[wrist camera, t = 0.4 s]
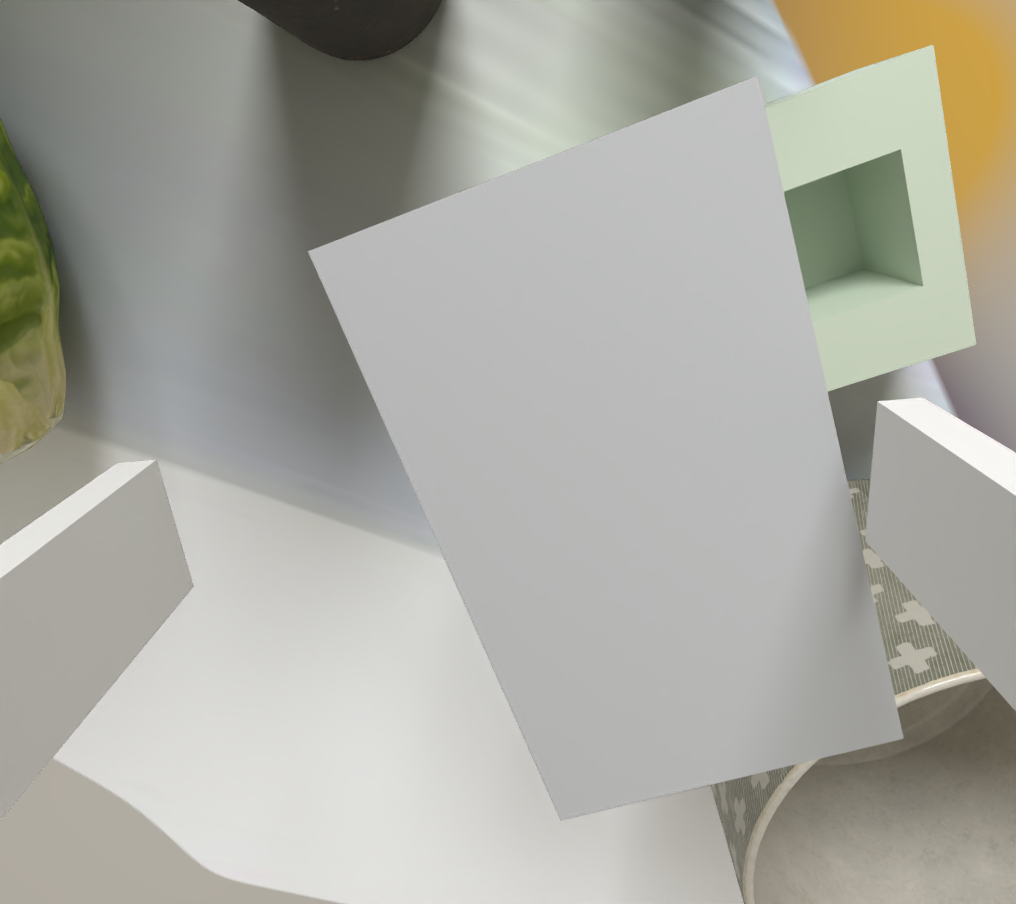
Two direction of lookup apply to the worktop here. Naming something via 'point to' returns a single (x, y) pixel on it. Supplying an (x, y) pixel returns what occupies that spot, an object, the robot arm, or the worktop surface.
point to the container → (350, 23)
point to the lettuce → (26, 315)
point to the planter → (890, 784)
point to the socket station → (668, 417)
